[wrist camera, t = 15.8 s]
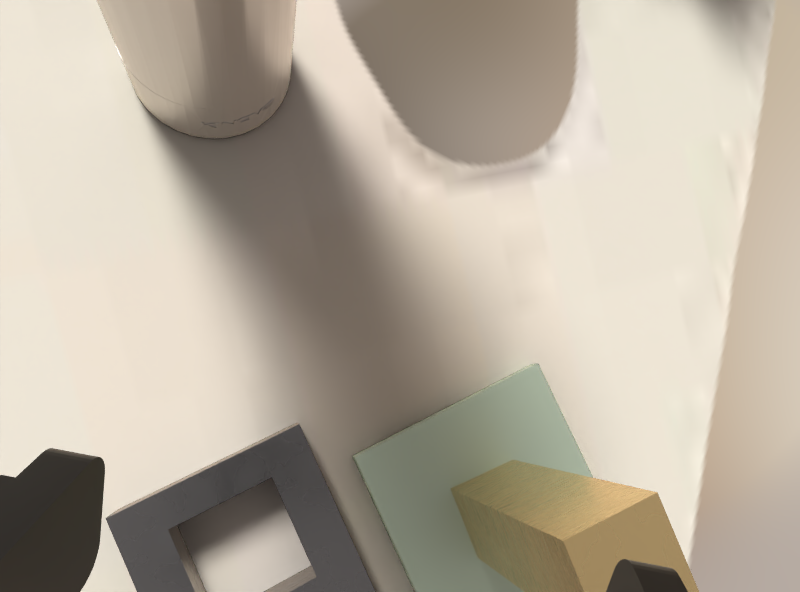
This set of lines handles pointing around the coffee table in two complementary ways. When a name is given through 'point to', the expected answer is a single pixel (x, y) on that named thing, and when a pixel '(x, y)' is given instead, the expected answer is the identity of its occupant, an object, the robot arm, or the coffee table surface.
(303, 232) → the coffee table surface
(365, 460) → the pad
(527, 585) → the plug
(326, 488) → the frame with square holes
